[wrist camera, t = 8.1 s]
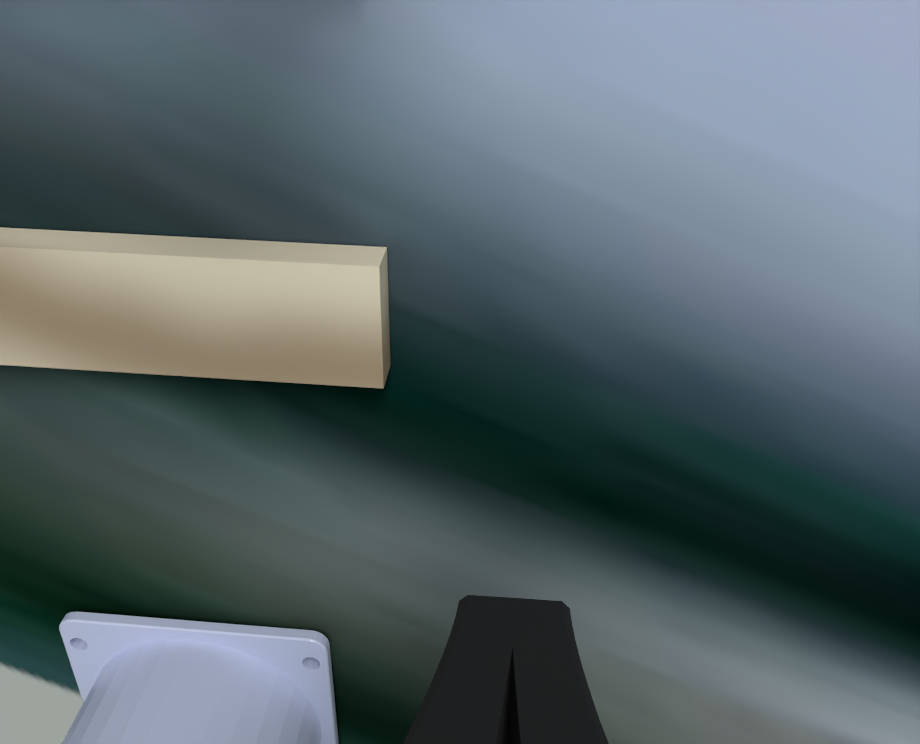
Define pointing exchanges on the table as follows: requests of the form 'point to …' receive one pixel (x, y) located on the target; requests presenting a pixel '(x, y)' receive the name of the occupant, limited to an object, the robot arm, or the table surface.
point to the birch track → (195, 307)
